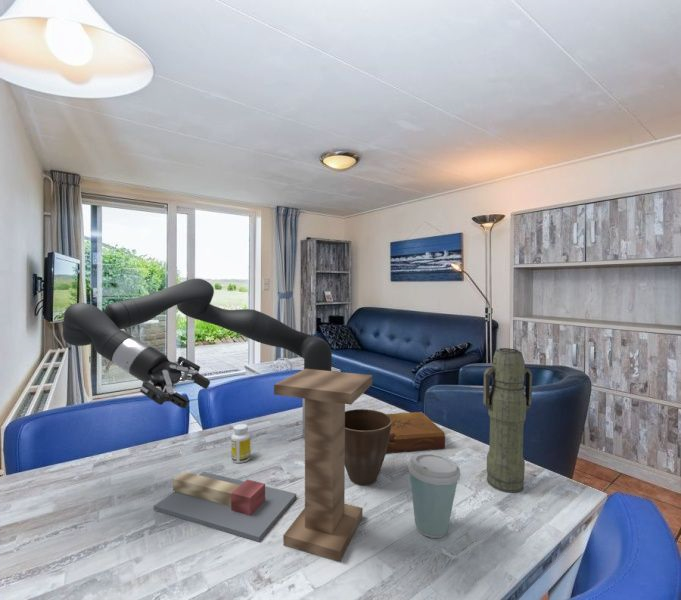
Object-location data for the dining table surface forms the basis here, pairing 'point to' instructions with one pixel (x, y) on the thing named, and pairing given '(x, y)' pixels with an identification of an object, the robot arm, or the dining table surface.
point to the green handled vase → (507, 418)
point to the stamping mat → (228, 511)
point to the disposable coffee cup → (433, 492)
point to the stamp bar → (222, 491)
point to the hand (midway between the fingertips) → (198, 394)
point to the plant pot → (365, 444)
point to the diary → (414, 433)
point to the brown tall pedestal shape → (324, 461)
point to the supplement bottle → (240, 444)
